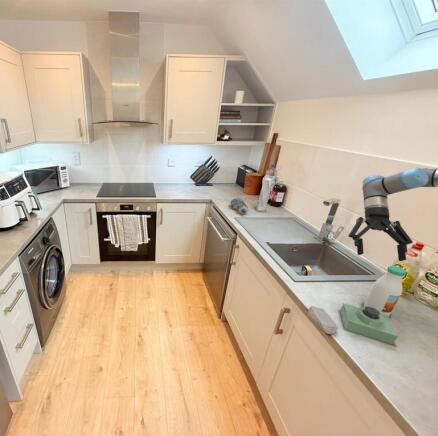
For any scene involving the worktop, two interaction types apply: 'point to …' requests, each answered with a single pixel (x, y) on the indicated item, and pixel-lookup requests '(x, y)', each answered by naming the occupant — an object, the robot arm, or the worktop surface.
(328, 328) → the soap bar
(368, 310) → the black disc
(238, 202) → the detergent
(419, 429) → the worktop surface
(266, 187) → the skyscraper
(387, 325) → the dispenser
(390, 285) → the milk bottle
